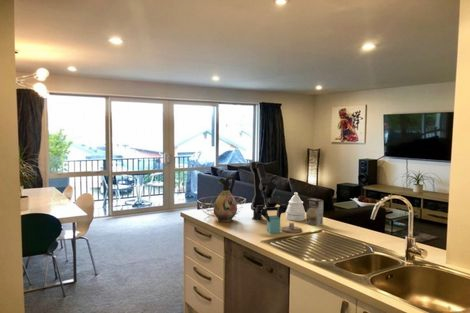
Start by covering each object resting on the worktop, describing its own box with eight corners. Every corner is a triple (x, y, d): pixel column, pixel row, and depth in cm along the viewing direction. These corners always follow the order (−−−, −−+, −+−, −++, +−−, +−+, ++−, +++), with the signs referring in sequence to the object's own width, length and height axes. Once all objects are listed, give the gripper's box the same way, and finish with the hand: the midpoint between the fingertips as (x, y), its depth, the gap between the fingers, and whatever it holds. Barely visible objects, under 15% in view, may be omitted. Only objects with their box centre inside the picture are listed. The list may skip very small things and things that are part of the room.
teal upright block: (267, 230, 205) (267, 215, 205) (276, 230, 206) (276, 215, 206) (270, 233, 199) (270, 218, 199) (280, 233, 201) (280, 217, 200)
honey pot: (304, 221, 230) (305, 194, 229) (285, 220, 232) (285, 193, 231) (304, 216, 242) (305, 191, 241) (286, 215, 245) (286, 190, 244)
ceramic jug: (221, 224, 218) (221, 177, 217) (209, 219, 231) (209, 175, 229) (243, 221, 228) (244, 176, 226) (230, 216, 241) (231, 173, 239)
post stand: (282, 227, 213) (282, 220, 213) (302, 228, 211) (302, 221, 210) (280, 232, 202) (280, 224, 202) (301, 234, 199) (301, 226, 199)
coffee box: (305, 223, 224) (306, 198, 223) (311, 221, 228) (311, 197, 227) (317, 226, 217) (318, 200, 216) (323, 224, 221) (323, 199, 220)
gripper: (256, 191, 203) (262, 214, 193) (286, 191, 207) (293, 213, 197) (253, 202, 211) (257, 224, 201) (281, 201, 215) (288, 223, 205)
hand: (274, 221), depth 201 cm, fingers closed on teal upright block, 6 cm apart
